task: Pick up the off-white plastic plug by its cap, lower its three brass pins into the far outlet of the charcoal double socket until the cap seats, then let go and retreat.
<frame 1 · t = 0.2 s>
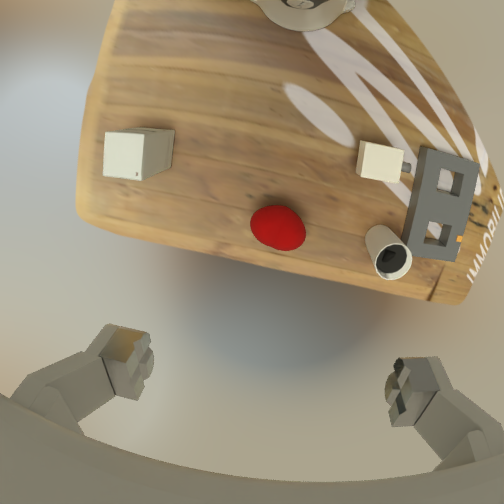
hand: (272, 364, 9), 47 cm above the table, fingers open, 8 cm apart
double socket: (436, 203, 51), on the table
supplement box: (155, 146, 54), on the table
plug: (371, 157, 50), on the table
red rounded egg-shaped part: (279, 215, 57), on the table
beige cup: (378, 238, 56), on the table
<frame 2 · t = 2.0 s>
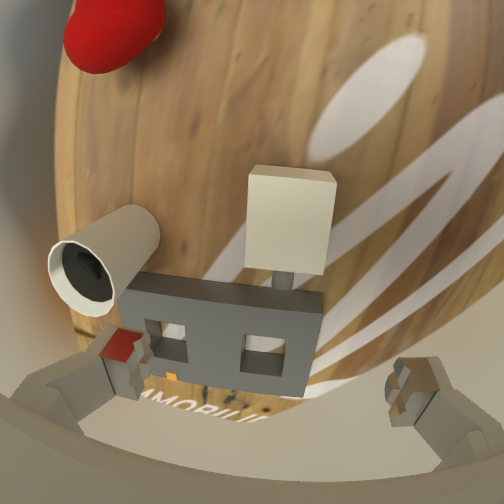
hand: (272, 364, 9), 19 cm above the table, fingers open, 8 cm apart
double socket: (220, 328, 33), on the table
plug: (290, 198, 26), on the table
red rounded egg-shaped part: (152, 33, 21), on the table
beige cup: (135, 230, 30), on the table
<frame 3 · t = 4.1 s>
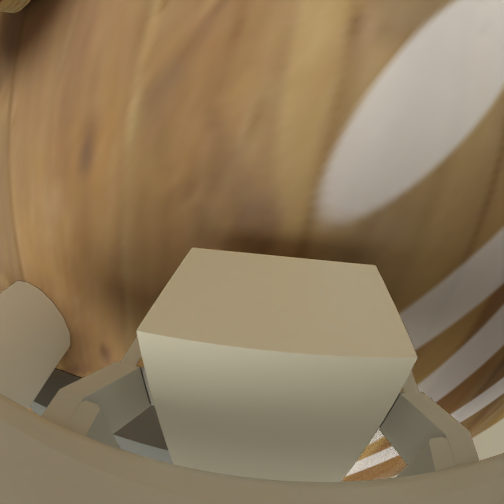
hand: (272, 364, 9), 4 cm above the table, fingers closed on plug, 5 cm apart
double socket: (178, 446, 20), on the table
plug: (278, 295, 13), on the table, touching gripper
beige cup: (38, 318, 16), on the table
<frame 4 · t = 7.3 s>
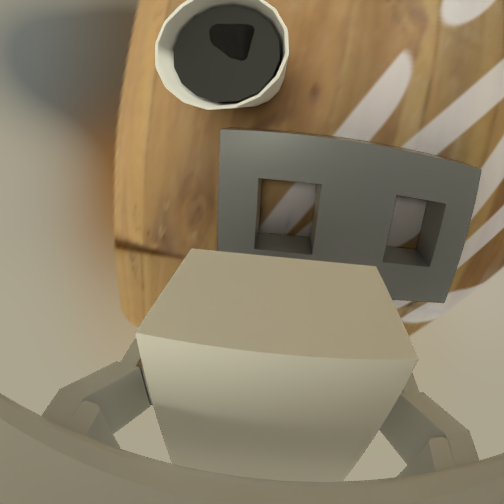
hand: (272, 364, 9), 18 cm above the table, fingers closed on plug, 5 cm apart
double socket: (346, 211, 25), on the table
plug: (278, 296, 13), point 14 cm above the table, touching gripper
beige cup: (247, 73, 21), on the table
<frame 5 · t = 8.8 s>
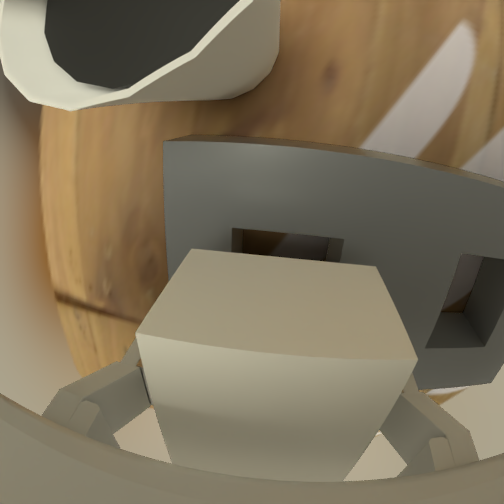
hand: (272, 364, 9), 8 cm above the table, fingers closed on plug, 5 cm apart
double socket: (375, 266, 16), on the table
plug: (278, 296, 13), point 4 cm above the table, touching gripper
beige cup: (218, 45, 12), on the table
when the fingers open (5 cm above the table, at t = 9.9 s): plug stays where it is, resting on double socket.
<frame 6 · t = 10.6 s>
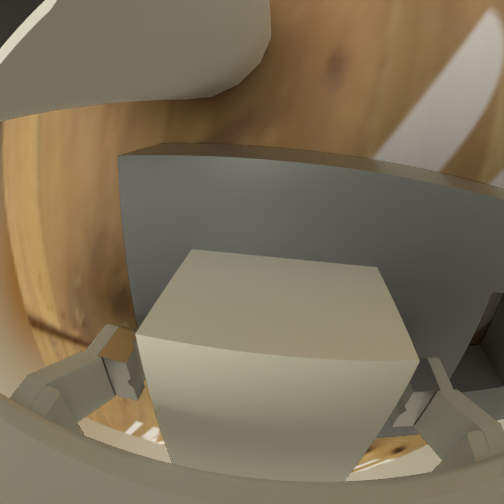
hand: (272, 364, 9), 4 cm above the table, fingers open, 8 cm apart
double socket: (386, 300, 13), on the table
plug: (278, 297, 13), resting on double socket
beige cup: (196, 32, 10), on the table
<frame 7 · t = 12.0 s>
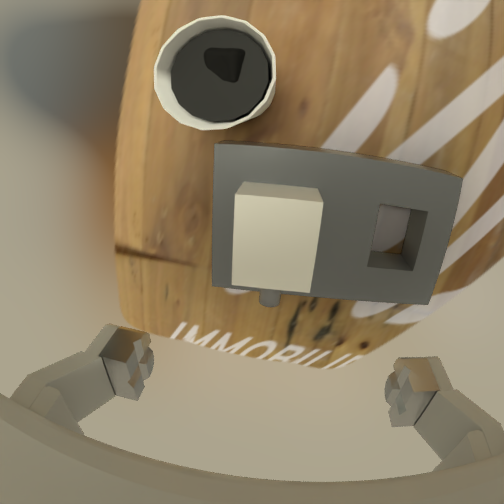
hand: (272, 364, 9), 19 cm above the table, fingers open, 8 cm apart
double socket: (334, 218, 27), on the table
plug: (278, 214, 27), resting on double socket
beige cup: (240, 88, 23), on the table
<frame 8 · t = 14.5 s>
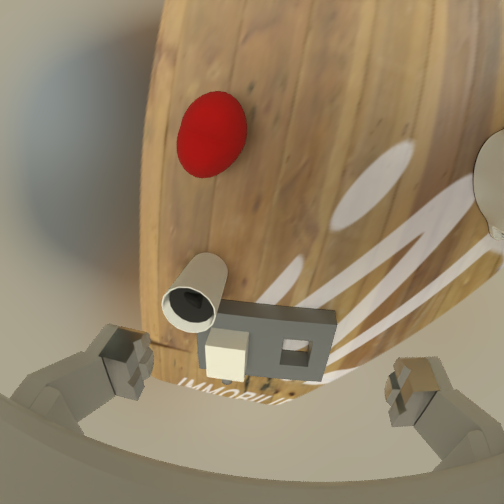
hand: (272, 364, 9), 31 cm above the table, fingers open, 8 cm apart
double socket: (264, 335, 48), on the table
plug: (233, 333, 48), resting on double socket
red rounded egg-shaped part: (224, 131, 36), on the table
beige cup: (208, 270, 45), on the table
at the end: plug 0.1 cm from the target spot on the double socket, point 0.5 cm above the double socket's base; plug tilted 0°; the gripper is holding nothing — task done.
